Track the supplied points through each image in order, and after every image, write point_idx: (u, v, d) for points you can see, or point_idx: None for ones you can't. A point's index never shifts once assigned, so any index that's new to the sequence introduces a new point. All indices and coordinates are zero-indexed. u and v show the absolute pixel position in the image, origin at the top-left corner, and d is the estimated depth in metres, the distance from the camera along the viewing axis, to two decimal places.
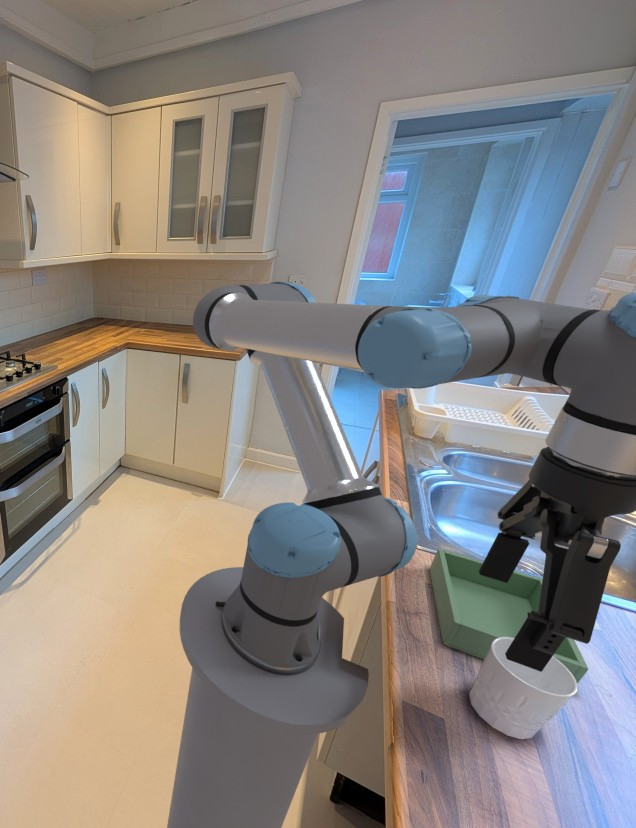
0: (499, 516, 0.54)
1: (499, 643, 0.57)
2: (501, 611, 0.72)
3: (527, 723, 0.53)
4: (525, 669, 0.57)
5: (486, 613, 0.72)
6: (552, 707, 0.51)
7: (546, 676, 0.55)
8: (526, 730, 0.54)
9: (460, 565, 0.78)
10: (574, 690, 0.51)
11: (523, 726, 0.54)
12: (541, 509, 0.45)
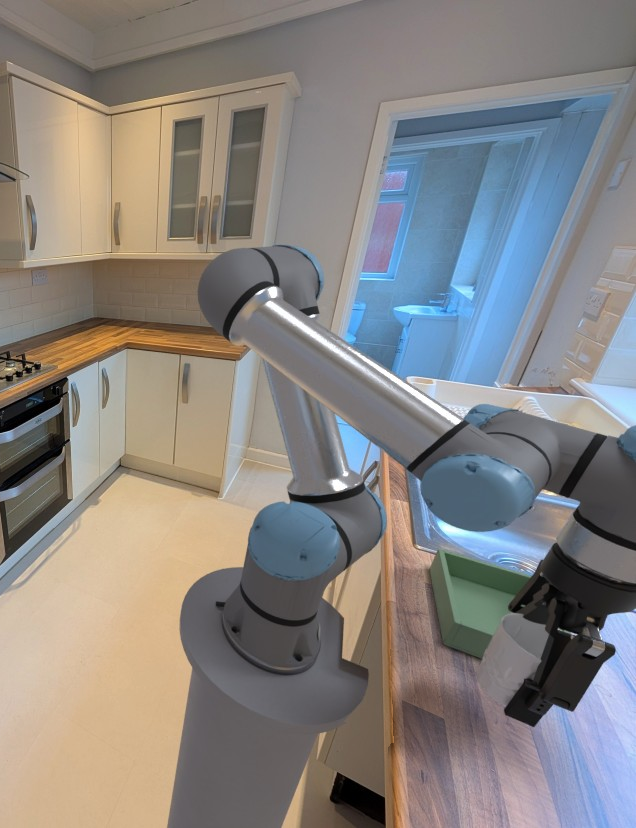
0: (510, 609, 0.59)
1: (509, 619, 0.56)
2: (501, 611, 0.72)
3: None
4: (535, 645, 0.56)
5: (486, 613, 0.72)
6: None
7: None
8: None
9: (460, 565, 0.78)
10: None
11: None
12: (550, 595, 0.51)
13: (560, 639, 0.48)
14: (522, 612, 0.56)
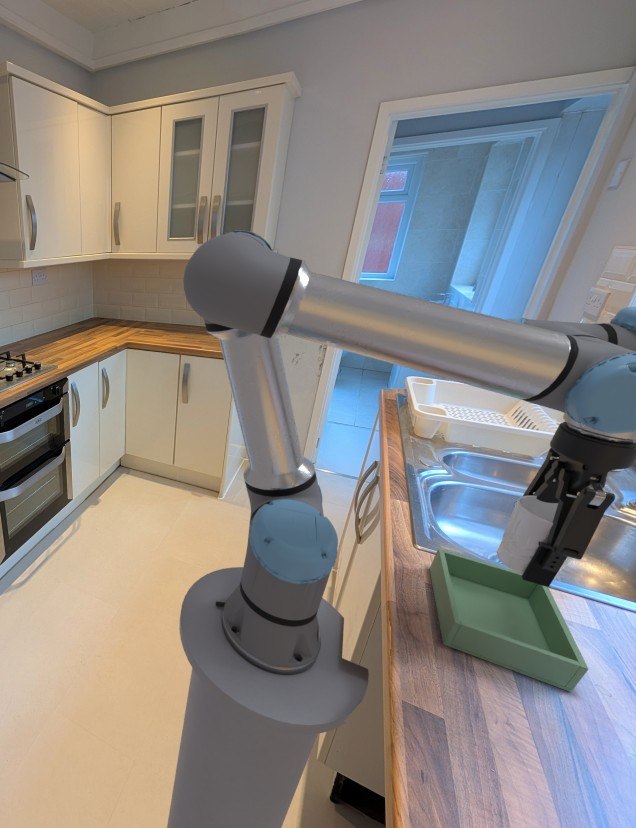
0: None
1: (524, 501, 0.64)
2: (501, 611, 0.72)
3: None
4: None
5: (486, 613, 0.72)
6: None
7: None
8: None
9: (460, 565, 0.78)
10: None
11: None
12: (559, 470, 0.59)
13: (568, 501, 0.57)
14: (535, 495, 0.64)
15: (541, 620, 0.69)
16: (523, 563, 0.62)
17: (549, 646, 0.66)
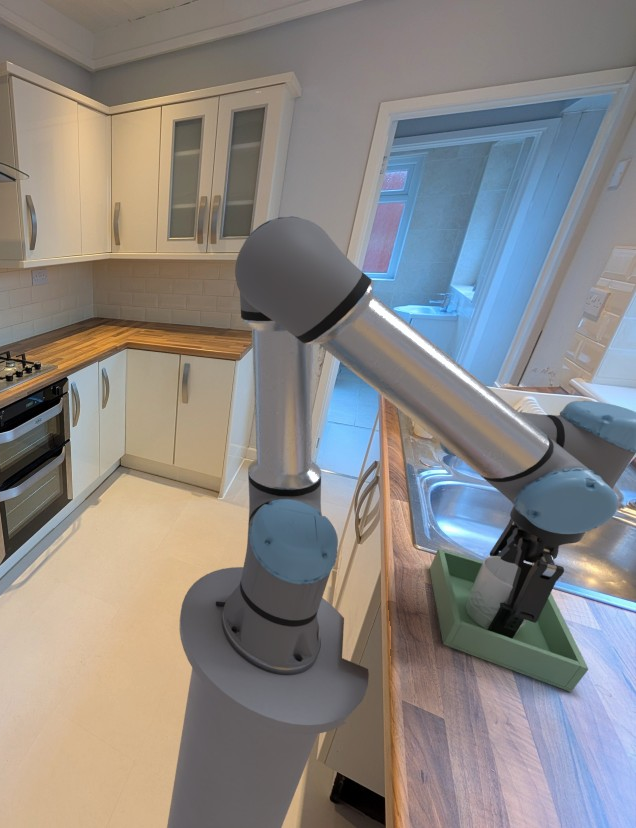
0: (491, 555, 0.73)
1: (489, 561, 0.70)
2: None
3: None
4: (511, 582, 0.70)
5: None
6: None
7: None
8: None
9: (460, 565, 0.78)
10: None
11: None
12: (519, 537, 0.65)
13: (526, 569, 0.63)
14: (499, 555, 0.70)
15: (541, 620, 0.69)
16: (488, 619, 0.68)
17: (549, 646, 0.66)
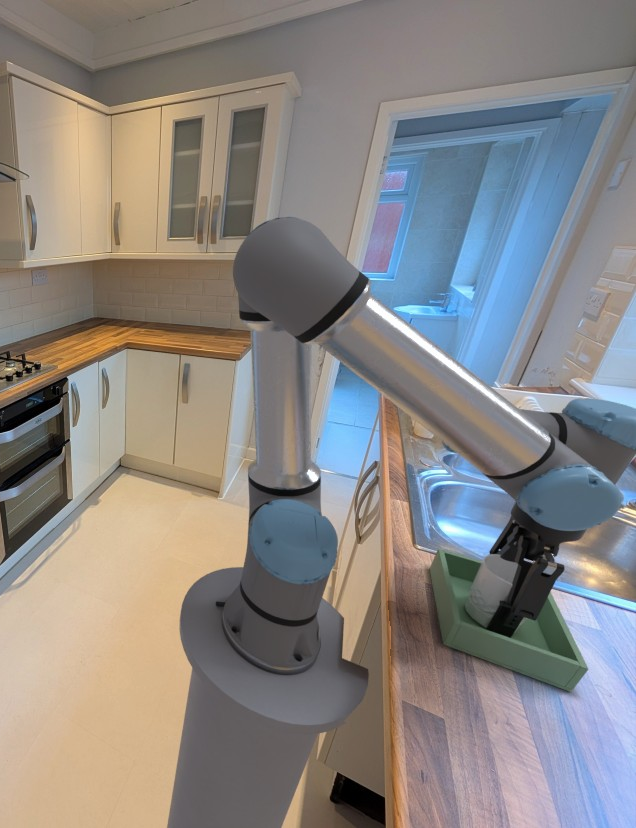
0: (491, 553, 0.73)
1: (489, 559, 0.70)
2: None
3: None
4: (510, 580, 0.70)
5: None
6: None
7: None
8: None
9: (460, 565, 0.78)
10: None
11: None
12: None
13: (526, 566, 0.63)
14: (499, 553, 0.70)
15: (541, 620, 0.69)
16: (487, 617, 0.68)
17: (549, 646, 0.66)
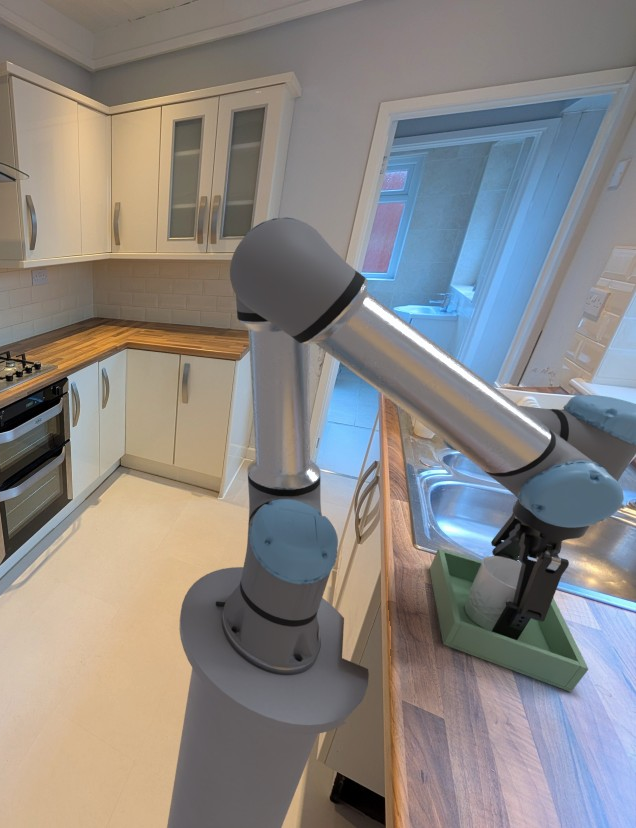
0: (492, 544, 0.73)
1: (488, 561, 0.70)
2: None
3: None
4: (510, 582, 0.70)
5: None
6: None
7: None
8: None
9: (460, 565, 0.78)
10: None
11: None
12: (521, 532, 0.65)
13: (530, 564, 0.62)
14: (501, 545, 0.70)
15: None
16: (486, 619, 0.68)
17: (549, 646, 0.66)
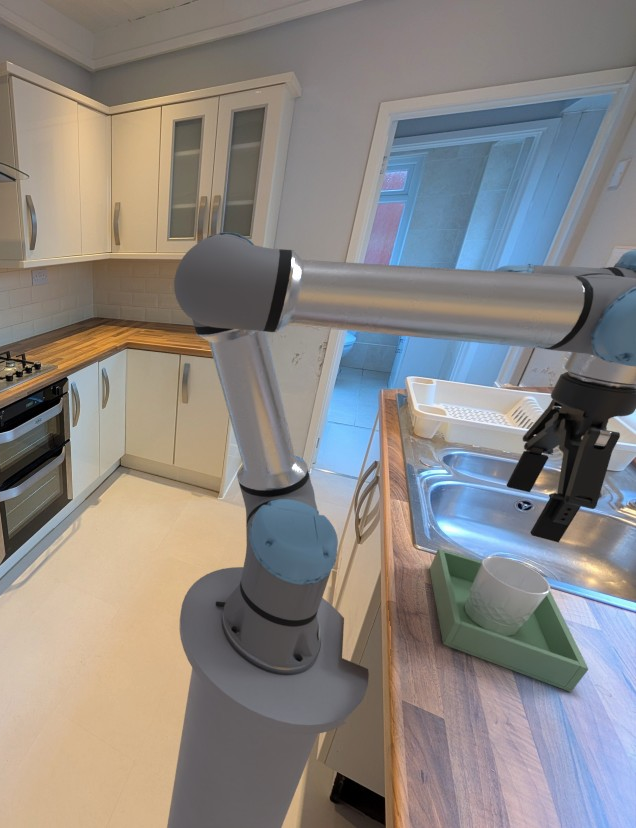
0: (524, 439, 0.68)
1: (488, 561, 0.70)
2: None
3: (510, 620, 0.66)
4: (510, 582, 0.70)
5: None
6: (530, 604, 0.64)
7: (526, 585, 0.68)
8: (510, 627, 0.67)
9: (460, 565, 0.78)
10: (547, 590, 0.64)
11: (507, 623, 0.67)
12: (559, 422, 0.59)
13: (574, 449, 0.56)
14: (535, 438, 0.65)
15: (541, 620, 0.69)
16: (486, 619, 0.68)
17: (549, 646, 0.66)
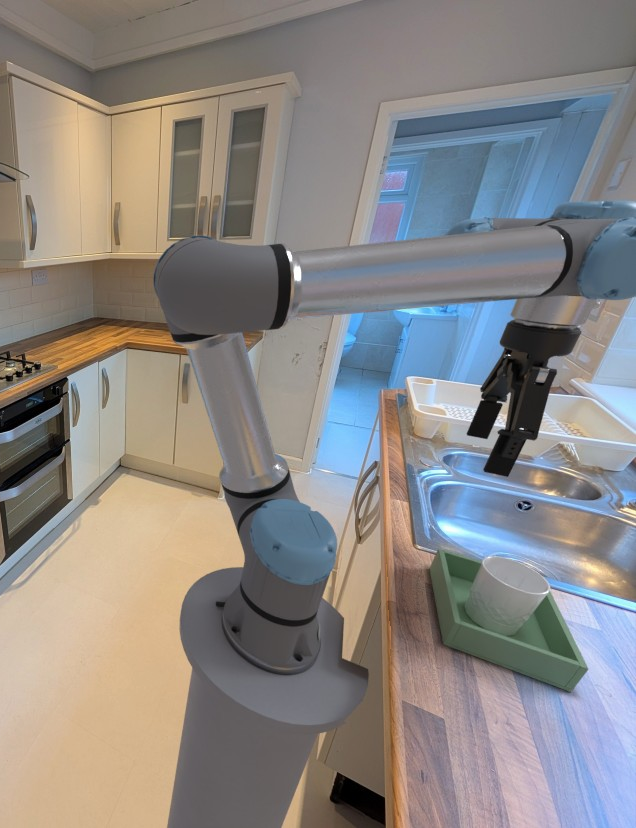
0: (481, 390, 0.73)
1: (488, 561, 0.70)
2: None
3: (510, 620, 0.66)
4: (510, 582, 0.70)
5: None
6: (530, 604, 0.64)
7: (526, 585, 0.68)
8: (510, 627, 0.67)
9: (460, 565, 0.78)
10: (547, 590, 0.64)
11: (507, 623, 0.67)
12: None
13: (519, 389, 0.61)
14: (490, 387, 0.70)
15: (541, 620, 0.69)
16: (486, 619, 0.68)
17: (549, 646, 0.66)
